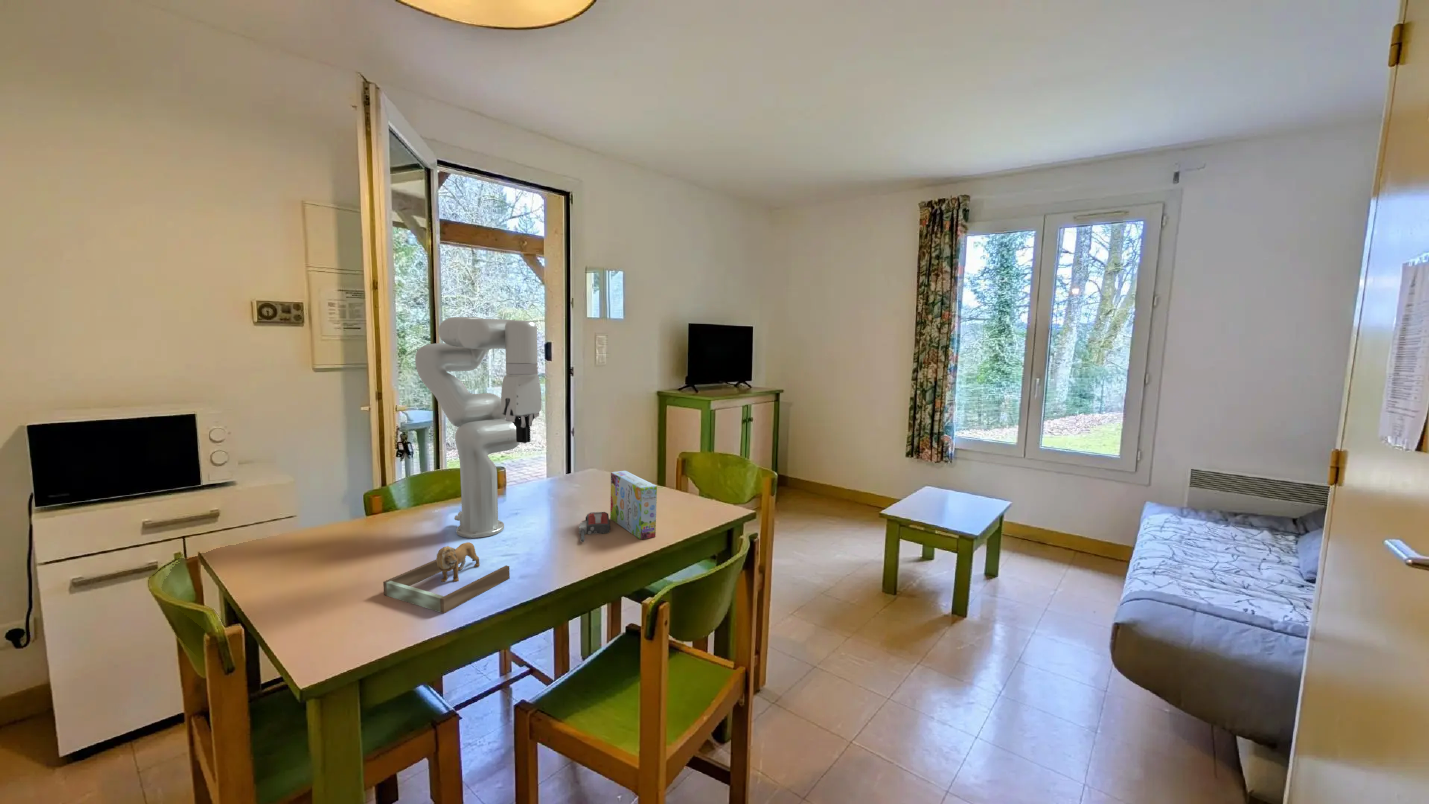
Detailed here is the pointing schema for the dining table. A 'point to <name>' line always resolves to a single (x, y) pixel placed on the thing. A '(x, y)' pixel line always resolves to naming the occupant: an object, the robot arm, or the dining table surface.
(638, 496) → the snack box
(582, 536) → the walkie-talkie
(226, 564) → the dining table surface
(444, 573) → the lion figurine
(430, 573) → the u-shaped wooden rail
